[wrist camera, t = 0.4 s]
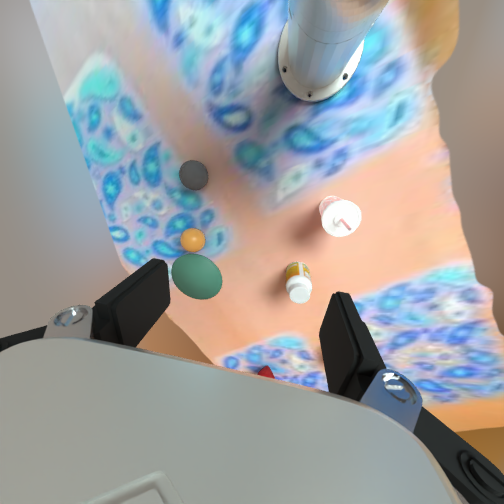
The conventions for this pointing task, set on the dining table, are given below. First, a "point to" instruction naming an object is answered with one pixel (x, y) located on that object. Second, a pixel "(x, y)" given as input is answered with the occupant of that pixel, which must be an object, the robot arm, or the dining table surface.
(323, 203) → the beverage cup
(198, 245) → the orange ball
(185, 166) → the charcoal cue ball
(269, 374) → the strawberry
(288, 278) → the supplement bottle
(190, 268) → the green ellipsoid
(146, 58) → the dining table surface
